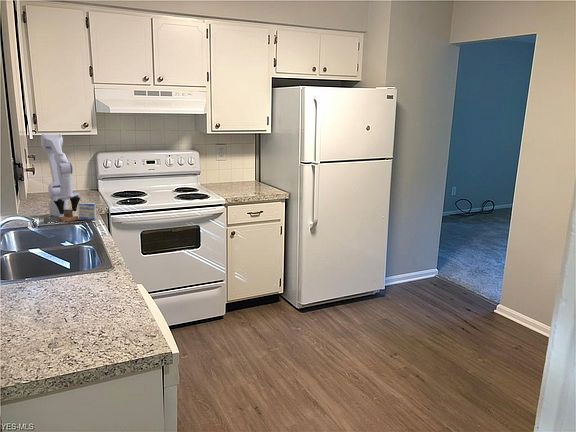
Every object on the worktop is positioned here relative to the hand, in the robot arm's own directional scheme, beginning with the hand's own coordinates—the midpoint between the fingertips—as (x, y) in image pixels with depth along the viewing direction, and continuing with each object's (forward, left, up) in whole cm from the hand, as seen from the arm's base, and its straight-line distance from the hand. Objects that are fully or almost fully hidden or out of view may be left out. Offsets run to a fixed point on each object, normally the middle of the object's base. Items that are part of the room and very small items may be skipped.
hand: (68, 212), depth 236 cm
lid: (0, 0, -4) cm, 4 cm away
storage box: (-4, -7, -4) cm, 9 cm away
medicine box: (+7, +6, -4) cm, 10 cm away
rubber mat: (0, 0, -4) cm, 4 cm away
